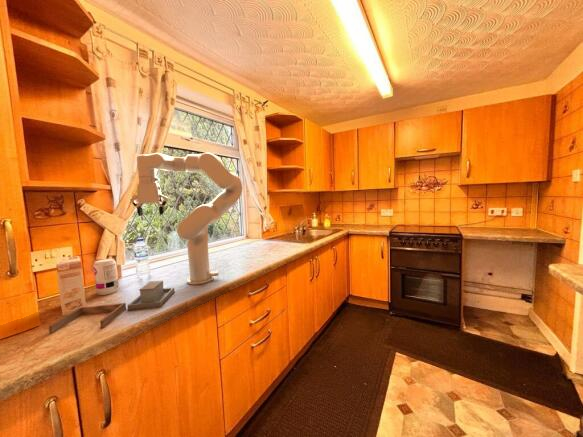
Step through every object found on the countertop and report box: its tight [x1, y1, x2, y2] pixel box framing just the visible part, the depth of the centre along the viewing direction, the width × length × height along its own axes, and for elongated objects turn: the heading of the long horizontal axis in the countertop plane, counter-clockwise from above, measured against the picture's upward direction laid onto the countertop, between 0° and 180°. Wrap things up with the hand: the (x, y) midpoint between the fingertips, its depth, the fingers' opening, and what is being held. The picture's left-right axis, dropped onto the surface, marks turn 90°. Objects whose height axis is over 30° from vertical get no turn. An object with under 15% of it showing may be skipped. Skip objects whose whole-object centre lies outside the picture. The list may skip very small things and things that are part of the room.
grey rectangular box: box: [139, 280, 164, 303], centre depth 98 cm, size 5×9×6 cm, turn 7°
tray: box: [126, 287, 175, 312], centre depth 98 cm, size 12×16×2 cm
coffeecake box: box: [55, 255, 87, 317], centre depth 94 cm, size 15×7×20 cm, turn 45°
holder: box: [48, 302, 127, 335], centre depth 83 cm, size 16×14×2 cm
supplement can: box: [92, 258, 120, 296], centre depth 110 cm, size 8×8×15 cm
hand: (151, 215), depth 119 cm, fingers open, 9 cm apart
